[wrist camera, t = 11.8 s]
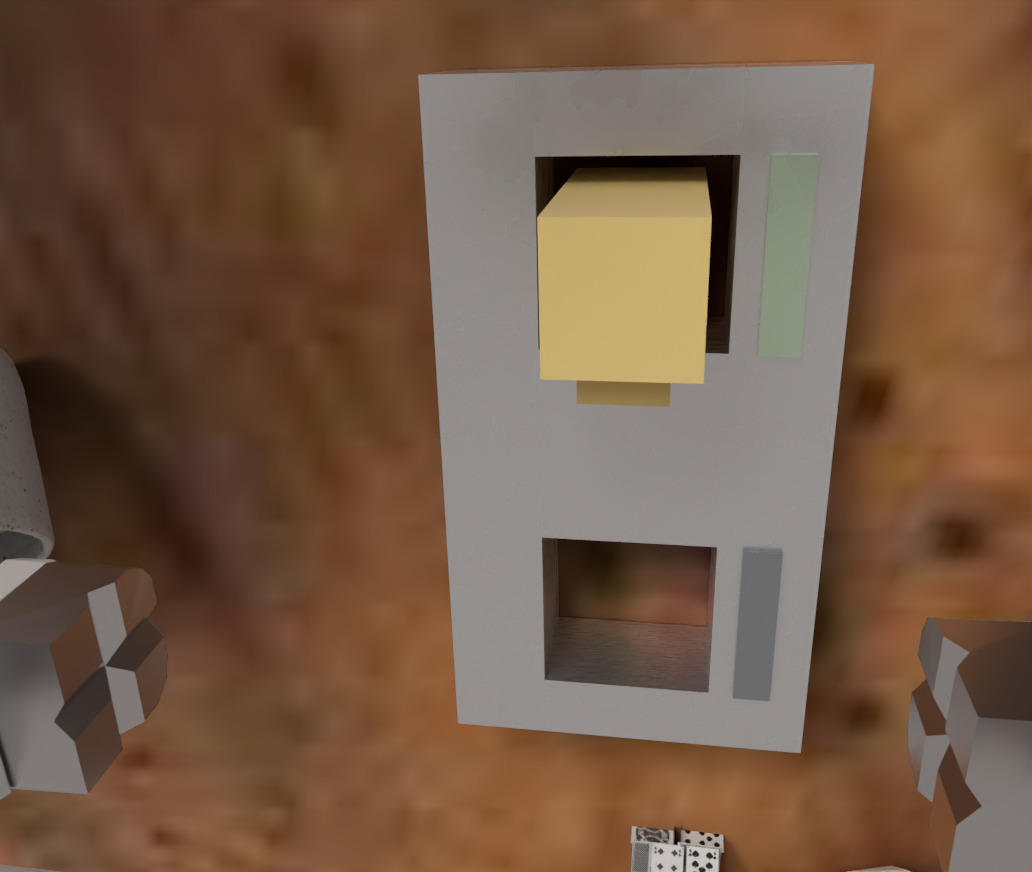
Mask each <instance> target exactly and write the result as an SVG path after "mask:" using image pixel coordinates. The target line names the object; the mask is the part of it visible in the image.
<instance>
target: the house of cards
mask: <svg viewBox="0 0 1032 872" xmlns="http://www.w3.org/2000/svg"><path fill="white" fill-rule="evenodd" d="M630 843H633V850H632V867H631V872H718V871H719V869H720V859H721V852H723V853H724V835H720V834H712V833H704V832H696V831H687V830H681V832H680V842H678V845H674V831H670V830H662V829H654V828H645V827H637V826H632V828H631V842H630Z"/></svg>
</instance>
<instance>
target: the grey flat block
mask: <svg viewBox="0 0 1032 872" xmlns="http://www.w3.org/2000/svg"><path fill="white" fill-rule="evenodd" d="M874 65H875V64H870V63H864V62H858V61H852V60H842V61H800V62H758V63H717V64H675V65H634V66H592V67H550V68H509V69H467V70H447V71H440V72H434V73H427V74H420V75H418V80H419V96H420V112H421V128H422V145H423V161H424V177H425V194H426V210H427V226H428V243H429V259H430V275H431V291H432V308H433V324H434V340H435V357H436V373H437V389H438V405H439V422H440V438H441V454H442V471H443V487H444V503H445V520H446V536H447V552H448V568H449V585H450V601H451V617H452V634H453V650H454V666H455V682H456V699H457V715H458V723H461V724H473V725H484V726H495V727H507V728H518V729H530V730H541V731H553V732H564V733H575V734H587V735H598V736H610V737H621V738H632V739H644V740H655V741H667V742H678V743H689V744H701V745H712V746H724V747H735V748H747V749H758V750H769V751H781V752H792V753H801V745H802V736H803V727H804V717H805V708H806V699H807V689H808V680H809V671H810V661H811V652H812V643H813V633H814V624H815V615H816V606H817V596H818V587H819V578H820V568H821V559H822V550H823V540H824V531H825V522H826V512H827V503H828V494H829V484H830V475H831V466H832V457H833V447H834V438H835V429H836V419H837V410H838V401H839V391H840V382H841V373H842V363H843V354H844V345H845V335H846V326H847V317H848V307H849V298H850V289H851V280H852V270H853V261H854V252H855V242H856V233H857V224H858V214H859V205H860V196H861V186H862V177H863V168H864V158H865V149H866V140H867V131H868V121H869V112H870V103H871V93H872V84H873V75H874ZM652 155H733V172H732V189H731V207H730V224H729V242H728V259H727V277H726V294H725V312H724V317H707V326H706V346H705V366H704V384H688V383H671V388H670V407H658V406H626V405H595V404H577V380H544V379H540V336H539V283H538V230H537V217H538V216H539V215H540V213H541V212H542V211H543V210H544V208H545V207H546V206H547V205H548V203H549V202H550V201H551V200H552V199H553V197H554V166H553V156H652ZM558 539H577V540H595V541H613V542H631V543H649V544H667V545H685V546H704V547H711V557H710V574H709V592H708V609H707V627H705V626H690V625H675V624H661V623H646V622H631V621H617V620H602V619H587V618H573V617H559V596H558Z"/></svg>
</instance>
